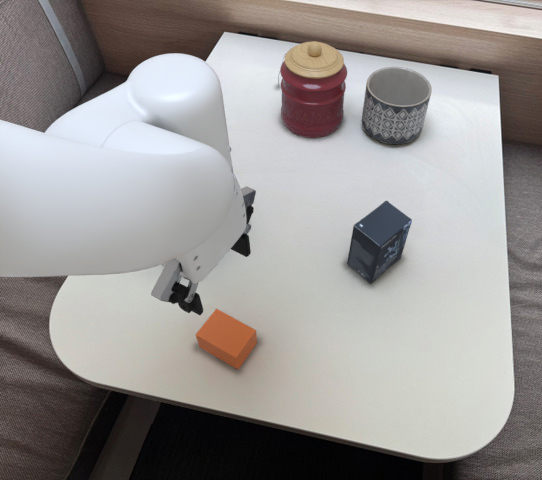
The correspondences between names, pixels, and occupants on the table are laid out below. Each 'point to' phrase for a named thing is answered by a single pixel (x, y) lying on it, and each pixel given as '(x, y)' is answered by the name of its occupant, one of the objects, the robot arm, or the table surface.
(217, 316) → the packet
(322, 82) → the kitchen canister
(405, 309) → the table surface
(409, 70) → the planter
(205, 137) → the robot arm
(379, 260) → the box
